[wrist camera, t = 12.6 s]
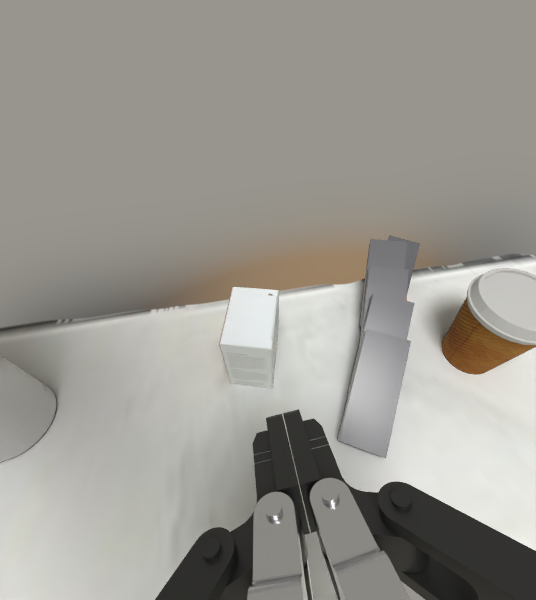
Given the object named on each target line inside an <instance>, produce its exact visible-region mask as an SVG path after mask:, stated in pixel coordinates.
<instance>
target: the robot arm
mask: <svg viewBox="0 0 536 600" xmlns="http://www.w3.org/2000/svg"><path fill="white" fill-rule="evenodd" d="M55 412H56V397H55V394H54V393H53V391H52V390H51V389H50V388H49V387H47V386H46V385H44V384H43V383H42V382H41V381H39V380H37V379H36V378H34V377H32V376H31V375H29V374H28V373H26V372H25V371H23V370H22V369H20V368H19V367H17V366H16V365H14V364H13V363H11V362H10V361H8V360H7V359H5V358H4V357H2V356H1V355H0V462H2V461H5V460H9V459H12V458H14V457H16V456H18V455H20V454H22V453H23V452H25V451H26V450H28V449H29V448H31V447H32V446H33V445H34V444H35V443H36V442H37V441H38V440H39V439H40V438H41V437H42V436H43V435H44V433H45V432H46V431H47V429H48V428H49V426H50V424H51V423H52V420H53V418H54V416H55ZM283 415H284V419H285V423H286V427H287V432H288V436H289V440H290V445H291V449H292V453H293V457H294V462H295V466H296V470H297V474H298V479H299V483H300V487H301V491H302V495H303V500H304V504H305V508H306V512H307V516H308V521H309V525H310V529H311V533H312V532H315V531H317V534H318V538H319V542H320V546H321V550H322V555H323V559H324V562H325V565H326V568H327V571H328V574H329V577H330V580H331V583H332V586H333V589H334V593H335V596H336V599H337V600H410V598H409V596H408V594H407V592H406V590H405V588H404V587H403V585H402V582H403V583H405V584H406V585H407V586H409V587H410V588H411V589H412V590H414V591H415V592H416V593H418V594H419V595H420V596H422V597H423V598H424V599H425V600H536V551H534V550H532V549H531V548H529V547H527V546H525V545H523V544H521V543H519V542H517V541H515V540H513V539H512V538H510V537H508V536H506V535H504V534H502V533H500V532H498V531H496V530H494V529H493V528H491V527H489V526H487V525H485V524H483V523H481V522H479V521H477V520H475V519H474V518H472V517H470V516H468V515H466V514H464V513H462V512H460V511H458V510H456V509H454V508H453V507H451V506H449V505H447V504H445V503H443V502H441V501H439V500H437V499H435V498H434V497H432V496H430V495H428V494H426V493H424V492H422V491H420V490H418V489H416V488H415V487H413V486H411V485H409V484H406V483H403V482H390V483H387V484H385V485H384V486H383V487H382V488H381V489H380V491H379V493H374V492H363V491H359V490H356V489H354V488H352V487H350V486H349V485H348V484H347V483H346V482H345V481H344V479H343V478H342V476H341V474H340V471H339V469H338V466H337V463H336V461H335V458H334V456H333V453H332V451H331V448H330V446H329V443H328V441H327V438H326V436H325V433H324V431H323V428H322V426H321V425H320V424H319V423H318V422H317V421H316V420H315V419H310V420H306V421H302V418H301V414H300V411H299V410H295V411H291V412H287V413H283ZM266 422H267V428H268V430H267V431H263V432H259V433H257V434H256V437H255V439H254V442H253V452H254V463H255V478H256V490H257V504H256V507H255V509H254V512H253V514H252V516H251V517H250V518H249V519H248V520H247V521H246V522H245V523H244V524H242V525H241V526H239V527H238V528H236V529H235V530H233V531H232V532H229V531H228V530H227V529H224V528H220V527H218V528H212V529H210V530H208V531H206V532H205V533H203V534H202V535H201V536H200V537H199V538H198V540H197V541H196V542H195V544H194V545H193V547H192V548H191V549H190V551H189V552H188V554H187V555H186V557H185V558H184V559H183V561H182V562H181V564H180V565H179V567H178V568H177V569H176V571H175V572H174V574H173V575H172V576H171V578H170V579H169V581H168V582H167V584H166V585H165V586H164V588H163V589H162V591H161V592H160V594H159V595H158V596H157V598H156V599H155V600H313V592H312V585H311V578H310V571H309V564H308V559H307V557H308V552H307V546H306V542H305V537H304V535H305V534H309V529H308V524H307V520H306V516H305V511H304V507H303V503H302V498H301V494H300V489H299V485H298V481H297V476H296V472H295V468H294V463H293V459H292V455H291V450H290V446H289V442H288V438H287V433H286V429H285V425H284V421H283V417H282V414H279V415H275V416H271V417H267V418H266ZM400 580H401V581H402V582H401V581H400Z"/></svg>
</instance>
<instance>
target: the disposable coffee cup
mask: <svg viewBox="0 0 536 600" xmlns="http://www.w3.org/2000/svg"><path fill="white" fill-rule="evenodd" d="M534 347H536V276H535V275H533V274H531V273H528V272H525V271H521V270H517V269H510V268H503V269H494V270H491V271H488V272H487V273H485V274H483V275H480V276H478V277H476V278H475V279H474V280H473V281H472V282H471V283H470V285H469V287H468V291H467V298H466V300H465V301H464V304H463V305H462V307H461V309H460V310H459V312H458V314H457V316H456V318H455V320H454V321H453V323H452V325H451V327H450V329H449V331H448V332H447V334H446V336H445V338H444V339H443V342H442V351H443V353H444V356H445V357H446V359H447V360H448V361H449V362H450V363H451V364H452V365H453V366H454V367H456V368H457V369H459V370H461V371H463V372H466V373H469V374H482V373H485V372H487V371H489V370H491V369H493V368H495V367H497V366H499V365H501V364H503V363H505V362H507V361H509V360H511V359H513V358H515V357H517V356H519V355H521V354H523V353H525V352H526V351H528V350H530V349H532V348H534Z"/></svg>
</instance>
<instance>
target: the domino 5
mask: <svg viewBox="0 0 536 600" xmlns="http://www.w3.org/2000/svg"><path fill="white" fill-rule="evenodd" d="M388 241H401V242H407V247H406V258H405V269H408V270H409V273H408V284H407V292H408V288H409V284H410V280H411V276H412V272H413V268H414V264H415V260H416V256H417V252H418V249H419V245H420V244H419V243H416V242H412V241H408V240H405V239H401V238H397V237H393V236H389V238H388Z"/></svg>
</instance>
